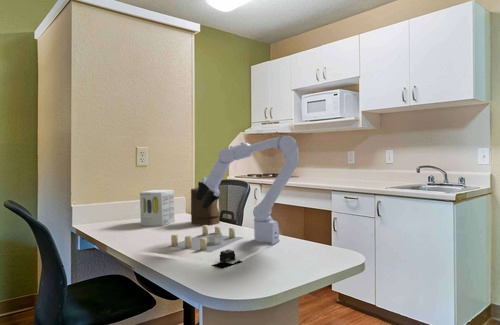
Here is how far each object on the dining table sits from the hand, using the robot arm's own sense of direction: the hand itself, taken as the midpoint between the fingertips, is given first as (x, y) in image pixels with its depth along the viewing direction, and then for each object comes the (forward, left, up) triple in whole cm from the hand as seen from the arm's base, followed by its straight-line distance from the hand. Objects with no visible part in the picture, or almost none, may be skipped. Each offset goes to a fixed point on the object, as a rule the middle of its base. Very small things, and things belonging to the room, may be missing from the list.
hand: (201, 203), depth 145 cm
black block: (-26, +22, -16) cm, 38 cm away
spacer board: (-6, +4, -16) cm, 17 cm away
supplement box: (+45, -23, -16) cm, 53 cm away
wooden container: (+22, -33, -16) cm, 43 cm away
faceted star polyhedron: (-10, +4, -14) cm, 18 cm away
